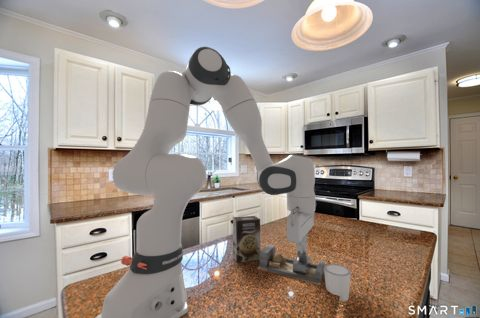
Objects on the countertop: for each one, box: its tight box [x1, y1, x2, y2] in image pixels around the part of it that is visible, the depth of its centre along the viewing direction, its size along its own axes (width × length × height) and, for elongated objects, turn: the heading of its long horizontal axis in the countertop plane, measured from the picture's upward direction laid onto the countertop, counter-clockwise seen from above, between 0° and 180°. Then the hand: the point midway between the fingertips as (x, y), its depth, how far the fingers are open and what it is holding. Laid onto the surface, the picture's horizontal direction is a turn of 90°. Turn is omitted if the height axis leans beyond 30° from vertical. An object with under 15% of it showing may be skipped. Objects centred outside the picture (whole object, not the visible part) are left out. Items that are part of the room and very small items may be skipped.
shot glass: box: [324, 263, 352, 302], centre depth 61 cm, size 7×7×7 cm
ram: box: [293, 235, 312, 275], centre depth 71 cm, size 7×4×12 cm, turn 150°
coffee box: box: [232, 215, 261, 263], centre depth 81 cm, size 9×6×16 cm
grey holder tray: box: [256, 243, 326, 286], centre depth 73 cm, size 11×20×6 cm, turn 60°
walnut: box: [272, 252, 284, 266], centre depth 75 cm, size 4×4×4 cm
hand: (301, 247), depth 71 cm, fingers open, 3 cm apart
